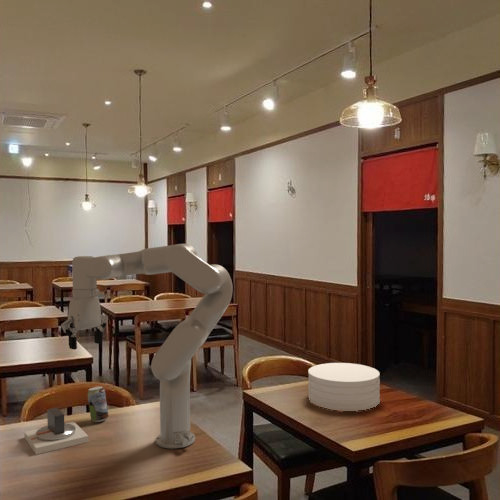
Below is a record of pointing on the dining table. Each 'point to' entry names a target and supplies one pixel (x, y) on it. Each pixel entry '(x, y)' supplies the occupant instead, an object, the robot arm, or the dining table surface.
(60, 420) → the dial
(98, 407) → the beverage can
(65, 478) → the dining table surface
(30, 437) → the dial base
